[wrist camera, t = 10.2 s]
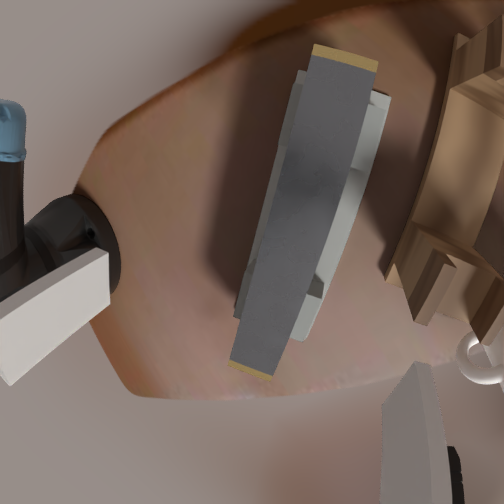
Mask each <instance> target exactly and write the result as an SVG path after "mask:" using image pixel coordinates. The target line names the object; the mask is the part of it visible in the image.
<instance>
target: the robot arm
mask: <svg viewBox="0 0 504 504" xmlns="http://www.w3.org/2000/svg"><path fill="white" fill-rule="evenodd" d="M25 131H26V114H25V111H24V109H23V108H22V106H21V105H20V104H18V103H16V102H14V101H10V100H4V99H0V376H1V377H2V378H3V379H4V381H5V382H6V383H7V384H8V385H9V386H11V385H12V384H14V383H15V382H16V381H17V380H18V379H19V378H20V377H21V376H23V375H24V374H25V373H26V372H27V371H29V370H30V369H31V368H32V367H33V366H34V365H36V364H37V363H38V362H39V361H40V360H41V359H42V358H44V357H45V356H46V355H47V354H49V353H50V352H51V351H52V350H53V349H55V348H56V347H57V346H58V345H59V344H61V343H62V342H63V341H64V340H66V339H67V338H68V337H69V336H70V335H72V334H73V333H74V332H75V331H77V330H78V329H79V328H80V327H82V326H83V325H84V324H85V323H87V322H88V321H89V320H90V319H92V318H93V317H94V316H96V315H97V314H98V313H99V312H101V311H102V310H103V309H104V308H106V307H107V306H108V305H110V294H112V293H113V292H114V290H115V289H116V287H117V285H118V283H119V279H120V273H121V260H120V253H119V248H118V244H117V241H116V238H115V235H114V233H113V230H112V228H111V226H110V224H109V222H108V221H107V219H106V217H105V216H104V214H103V213H102V212H101V210H100V209H99V208H98V207H97V206H96V205H95V204H94V203H93V202H92V201H90V200H89V199H87V198H85V197H83V196H81V195H77V194H70V195H66V196H63V197H61V198H57V199H56V200H53V201H52V202H50V203H49V204H48V205H47V206H46V207H45V208H43V209H42V210H41V211H40V212H39V213H38V214H36V215H35V216H34V217H33V218H32V219H31V220H30V221H29V222H28V223H27V224H25V225H24V211H23V178H24V177H23V176H24V175H23V174H24V160H25V157H26V149H25ZM379 504H465V503H464V491H463V484H462V474H461V464H460V458H459V456H458V454H457V452H456V450H455V448H454V447H452V446H447V444H446V438H445V431H444V426H443V420H442V414H441V409H440V405H439V400H438V395H437V391H436V386H435V382H434V378H433V374H432V370H431V366H430V365H429V364H425V363H421V362H418V361H414V363H413V364H412V365H411V367H410V368H409V370H408V371H407V373H406V374H405V375H404V377H403V378H402V380H401V381H400V382H399V384H398V385H397V386H396V388H395V389H394V390H393V391H392V393H391V394H390V396H389V397H388V398H387V399H386V401H385V402H384V403H383V404H382V469H381V487H380V501H379Z"/></svg>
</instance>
